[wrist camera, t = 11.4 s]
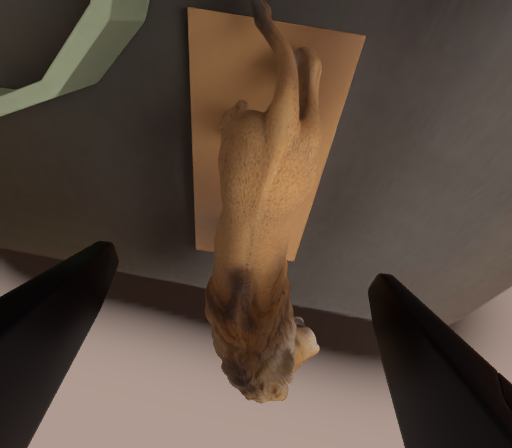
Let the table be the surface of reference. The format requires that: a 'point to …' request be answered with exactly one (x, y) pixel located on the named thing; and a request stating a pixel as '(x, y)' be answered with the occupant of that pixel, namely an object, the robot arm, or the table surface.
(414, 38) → the table surface
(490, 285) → the table surface
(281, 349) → the lion figurine
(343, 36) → the cork mat
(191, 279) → the table surface
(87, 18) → the pale green faceted ring
